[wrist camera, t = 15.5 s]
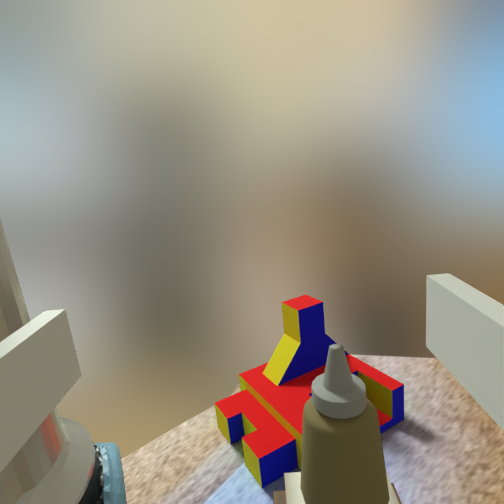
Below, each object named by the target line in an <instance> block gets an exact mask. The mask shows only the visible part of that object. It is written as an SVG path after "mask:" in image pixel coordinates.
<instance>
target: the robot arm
mask: <svg viewBox="0 0 504 504" xmlns="http://www.w3.org/2000/svg"><path fill="white" fill-rule="evenodd" d="M426 306H427V307H426V347H427V348H428V349H429V350H430V351H431V352H432V353H433V354H434V355H435V356H436V357H437V359H438V360H439V361H440V362H441V363H442V364H443V365H444V366H445V367H446V368H447V370H448V371H449V372H450V373H451V374H452V375H453V376H454V377H455V378H456V379H457V380H458V382H459V383H460V384H461V385H462V386H463V387H464V388H465V389H466V390H467V391H468V392H469V394H470V395H471V396H472V397H473V398H474V399H475V400H476V401H477V402H478V403H479V405H480V406H481V407H482V408H483V409H484V410H485V411H486V412H487V413H488V414H489V415H490V417H491V418H492V419H493V420H494V421H495V422H496V423H497V424H498V425H499V426H500V427H501V429H502V430H503V431H504V305H502V304H501V303H499V302H497V301H495V300H494V299H492V298H490V297H489V296H487V295H485V294H483V293H482V292H480V291H478V290H477V289H474V288H473V287H471V286H469V285H468V284H466V283H464V282H463V281H461V280H459V279H458V278H456V277H454V276H452V275H451V274H437V275H427V302H426ZM80 377H81V372H80V368H79V364H78V359H77V355H76V351H75V347H74V344H73V339H72V335H71V331H70V327H69V323H68V319H67V314H66V310H65V309H63V310H62V309H61V310H51V311H44V312H43V313H42V314H40V315H39V316H37V317H36V318H34V319H33V320H31V321H30V318H29V315H28V311H27V308H26V304H25V301H24V298H23V294H22V291H21V288H20V285H19V281H18V278H17V274H16V271H15V268H14V264H13V261H12V257H11V254H10V250H9V247H8V244H7V241H6V237H5V234H4V230H3V227H2V224H1V220H0V504H127V501H126V492H125V484H124V476H123V469H122V462H121V456H120V452H119V448H118V446H117V445H116V444H115V443H112V442H109V443H98V444H94V443H93V441H92V439H91V437H90V435H89V433H88V431H87V430H86V429H85V428H84V427H83V426H82V425H81V424H79V423H78V422H76V421H74V420H72V419H69V418H65V417H61V416H58V412H57V409H56V405H57V404H58V403H59V402H60V401H61V399H62V398H63V397H64V396H65V395H66V393H67V392H68V391H69V390H70V388H71V387H72V386H73V385H74V384H75V382H76V381H77V380H78V379H79V378H80Z"/></svg>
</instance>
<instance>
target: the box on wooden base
mask: <svg viewBox="0 0 504 504" xmlns="http://www.w3.org/2000/svg"><path fill="white" fill-rule="evenodd" d="M386 476H387V482H388V490H389V497H390V500H389V503H388V504H402V503H401V501H400V498H399V496H398V494H397V491H396V489H395V486H394V484H393V483H391V482H390V480H389V478H388V475H387V473H386ZM284 478H285V490H284V491H273V495H274V504H306V503H305V501H304V498H303V495H302V491H301V488H300V485H301V472H293V473H284Z"/></svg>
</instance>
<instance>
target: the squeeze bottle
mask: <svg viewBox="0 0 504 504" xmlns="http://www.w3.org/2000/svg"><path fill="white" fill-rule="evenodd" d="M311 391H312V397H310V399H309V400H308V401H307V402H306V403H305V405H304V410H303V424H302V454H301V485H300V488H301V491H302V495H303V498H304V501H305V503H306V504H388V503H389V500H390V497H389V490H388V482H387V476H386V469H385V462H384V455H383V448H382V441H381V434H380V427H379V420H378V413H377V409H376V408H375V406H374V405H373V404H372V402H371V401H370V400H368V399H367V398H366V385H365V383H364V382H363V381H362V380H361V379H360V378H359V377H357V376H355V375H354V374H351V372H350V369H349V365H348V362H347V358H346V355H345V352H344V348H343V346H342V345H339V344H332V345H330V346H329V351H328V356H327V362H326V367H325V373H323V374H321V375H319V376H317V377H316V378H315V379H314V381H313V382H312V387H311Z"/></svg>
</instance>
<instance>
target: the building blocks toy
mask: <svg viewBox="0 0 504 504" xmlns="http://www.w3.org/2000/svg"><path fill="white" fill-rule="evenodd" d="M282 312H283V323H284V335H283V337H282V339H281V341H280V342H279V344H278V346H277V348H276V350H275V351H274V353H273V355H272V357H271V359H270V361H269V362H268V363H266V364H263V365H261V366H258V367H256V368H253V369H251V370H249V371H246V372H244V373H241V374H239V379H240V387H241V392H239V393H236V394H234V395H232V396H230V397H227V398H225V399H223V400H221V401H218V402H216V403H215V409H216V416H217V423H218V428H219V429H220V431H221V432H222V433H223V435H224V436H225V437H226V439H227V440H228V442H229V443H230V444H233V443H235V442H237V441H239V440H241V439H242V444H243V452H244V459H245V465H246V467H247V468H248V469H249V471H250V472H251V473H252V475H253V476H254V478H255V479H256V480H257V482H258V483H259V485H260V486H261V487H262V488H263V487H265V486H267V485H268V484H270V483H272V482H273V481H275V480H277V479H279V478H280V477H282V476H284V473H289V472H290V471H292V470H294V469H295V468H297V467H299V468H300V469H301V454H302V424H303V410H304V405H305V403H306V402H307V401H308V400H309V399H310V397H312V391H311V387H312V382H313V381H314V379H315V378H316V377H317V376H319V375H321V374H323V373H325V367H326V362H327V356H328V351H329V346H330V345H332V344H337V343H335V342H334V341H333V340H332V339H331V338H330V337H329V336H328V335H326V334H325V327H324V311H323V302H322V301H319V300H317V299H315V298H312V297H310V296H308V295H303V296H300V297H297V298H294V299H291V300H288V301H285V302H282ZM344 352H345V355H346V358H347V362H348V365H349V369H350V372H351V374H354V375H355V376H357V377H359V378H360V379H361V380H362V381H363V382H364V383H365V385H366V398H367V399H368V400H370V401H371V402H372V404H373V405H374V406H375V408H376V409H377V413H378V420H379V427H380V434H381V433H383V432H384V431H386V430H388V429H389V428H391V427H392V426H394V425H396V424H397V423H399V422H400V421H402V420H404V384H402V383H400V382H398V381H397V380H395V379H393V378H391V377H389V376H388V375H386V374H384V373H382V372H380V371H379V370H377V369H375V368H373V367H371V366H369V365H368V364H366V363H364V362H362V361H360V360H359V359H357V358H355V357H353V356H351V355H350V354H348V353H347V352H346V351H345V350H344Z"/></svg>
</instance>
